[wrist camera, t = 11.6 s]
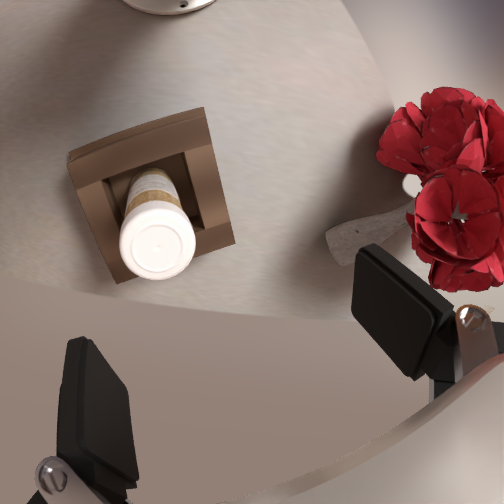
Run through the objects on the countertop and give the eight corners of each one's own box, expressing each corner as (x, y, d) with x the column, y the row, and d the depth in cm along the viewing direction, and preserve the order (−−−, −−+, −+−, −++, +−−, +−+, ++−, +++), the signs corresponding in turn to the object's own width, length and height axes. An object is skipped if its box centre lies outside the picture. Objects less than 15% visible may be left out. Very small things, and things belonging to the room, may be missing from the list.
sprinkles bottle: (163, 216, 29) (180, 291, 18) (122, 202, 27) (109, 271, 16) (181, 175, 28) (209, 225, 17) (138, 158, 26) (133, 198, 15)
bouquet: (359, 244, 51) (500, 174, 36) (378, 368, 34) (573, 278, 19) (290, 148, 40) (463, 56, 25) (285, 275, 24) (587, 122, 8)
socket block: (71, 151, 24) (57, 160, 20) (201, 107, 27) (212, 106, 22) (116, 266, 31) (113, 292, 27) (229, 227, 34) (243, 247, 29)
